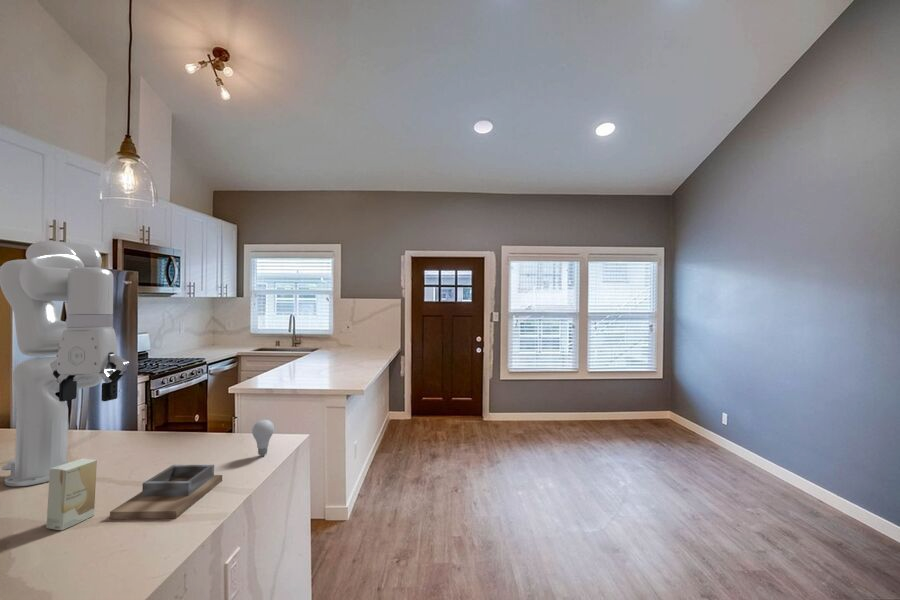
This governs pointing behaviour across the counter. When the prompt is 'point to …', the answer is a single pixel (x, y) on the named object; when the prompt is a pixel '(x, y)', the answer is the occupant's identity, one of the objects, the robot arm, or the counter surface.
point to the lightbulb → (263, 435)
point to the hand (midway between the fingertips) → (88, 400)
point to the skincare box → (71, 493)
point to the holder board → (169, 493)
